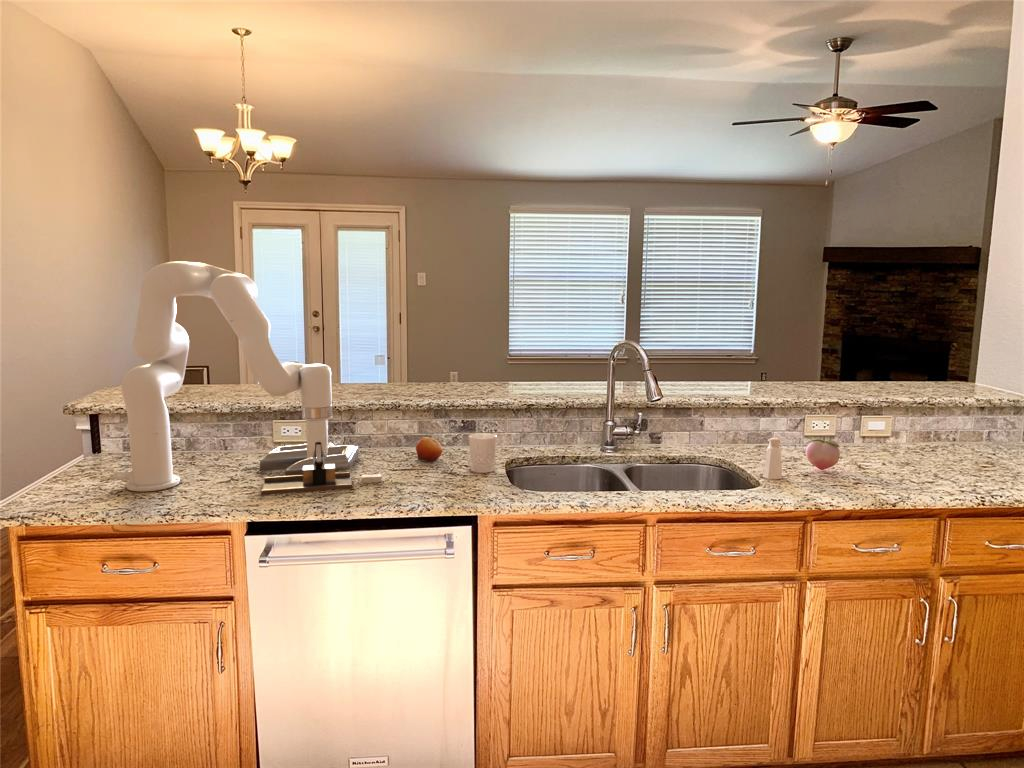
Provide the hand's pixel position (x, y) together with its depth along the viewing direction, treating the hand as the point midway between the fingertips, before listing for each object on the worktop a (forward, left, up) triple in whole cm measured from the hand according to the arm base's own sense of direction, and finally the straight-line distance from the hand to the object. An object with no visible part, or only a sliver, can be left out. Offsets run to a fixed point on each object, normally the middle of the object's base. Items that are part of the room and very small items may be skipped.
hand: (319, 480), depth 182 cm
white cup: (+45, +7, -2) cm, 46 cm away
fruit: (+32, +21, -2) cm, 38 cm away
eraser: (0, 0, -1) cm, 1 cm away
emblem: (-2, +22, -2) cm, 22 cm away
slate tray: (-3, 0, -2) cm, 3 cm away
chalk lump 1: (+12, 0, -2) cm, 12 cm away
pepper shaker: (+123, -19, -2) cm, 125 cm away
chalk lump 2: (+13, 0, -1) cm, 13 cm away
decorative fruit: (+142, -16, -2) cm, 143 cm away
